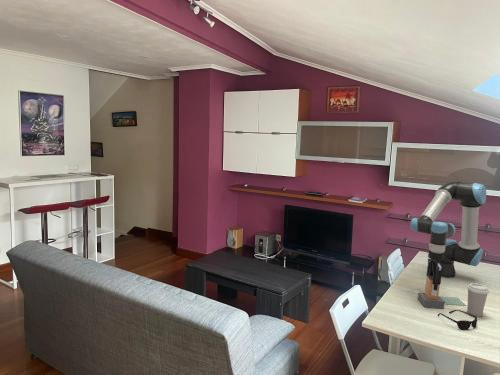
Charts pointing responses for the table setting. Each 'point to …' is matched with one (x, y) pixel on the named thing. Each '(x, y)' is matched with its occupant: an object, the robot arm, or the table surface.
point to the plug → (430, 288)
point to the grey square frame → (431, 301)
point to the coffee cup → (476, 299)
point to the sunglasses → (463, 321)
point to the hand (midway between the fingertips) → (431, 293)
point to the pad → (452, 301)
